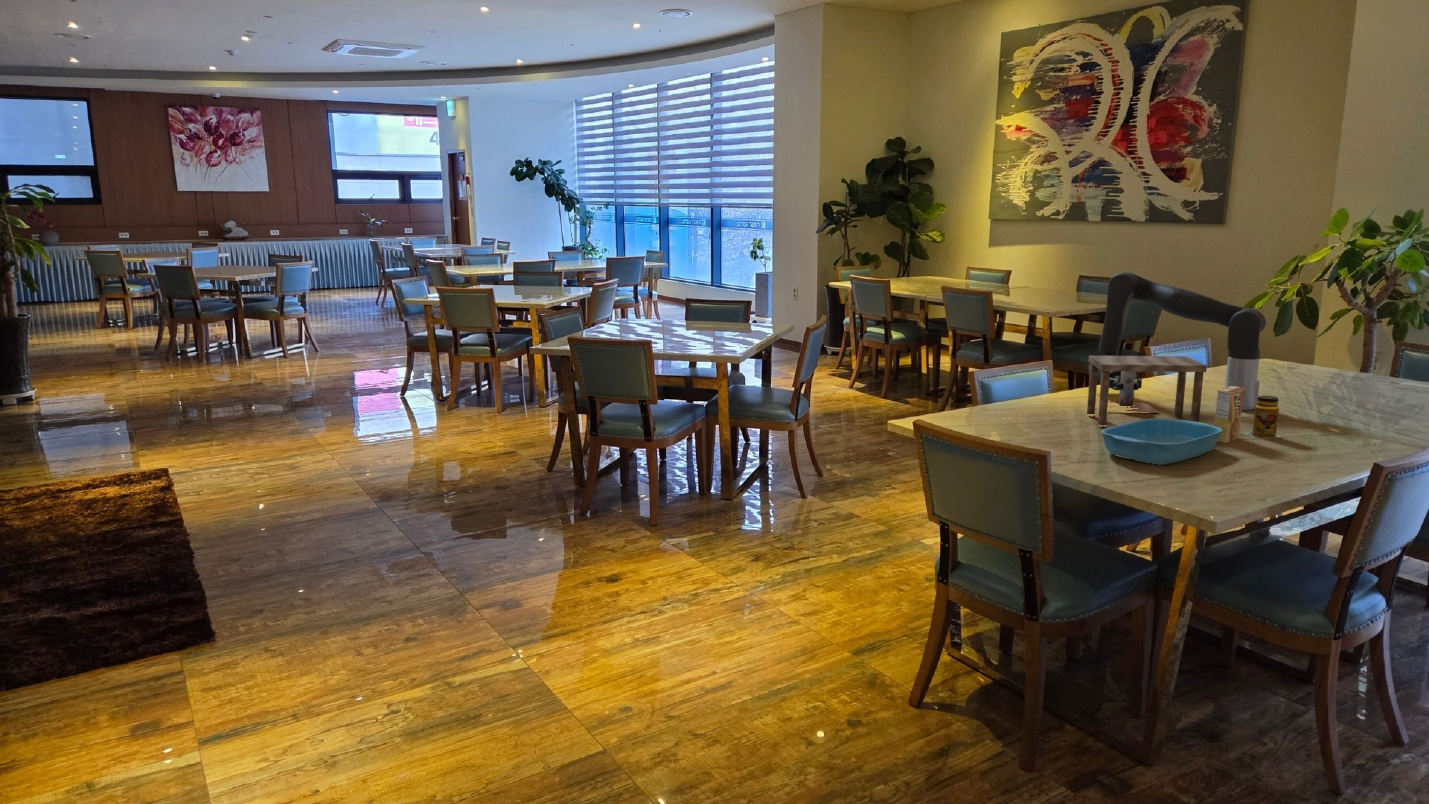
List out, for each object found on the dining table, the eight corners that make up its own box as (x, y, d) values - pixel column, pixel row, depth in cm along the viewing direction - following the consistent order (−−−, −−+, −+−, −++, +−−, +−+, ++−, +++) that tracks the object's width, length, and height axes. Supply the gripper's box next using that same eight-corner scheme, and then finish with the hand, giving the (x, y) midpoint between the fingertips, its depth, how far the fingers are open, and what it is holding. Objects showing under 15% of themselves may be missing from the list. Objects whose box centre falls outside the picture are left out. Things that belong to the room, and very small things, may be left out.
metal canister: (1131, 403, 311) (1133, 368, 309) (1134, 406, 307) (1137, 371, 304) (1117, 403, 312) (1119, 368, 309) (1120, 406, 308) (1123, 371, 305)
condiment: (1264, 440, 268) (1268, 400, 266) (1240, 433, 276) (1244, 394, 274) (1283, 437, 270) (1288, 398, 268) (1259, 431, 278) (1263, 392, 276)
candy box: (1224, 435, 274) (1229, 385, 270) (1240, 438, 270) (1245, 387, 267) (1212, 440, 268) (1216, 389, 265) (1227, 443, 265) (1232, 391, 262)
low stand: (1181, 416, 299) (1186, 356, 295) (1200, 429, 281) (1206, 365, 277) (1084, 415, 304) (1088, 355, 299) (1098, 427, 286) (1102, 364, 282)
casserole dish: (1156, 435, 276) (1158, 412, 275) (1233, 450, 258) (1235, 425, 257) (1085, 456, 255) (1087, 431, 254) (1163, 474, 237) (1165, 447, 236)
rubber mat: (1144, 403, 319) (1144, 402, 319) (1158, 413, 304) (1158, 412, 303) (1089, 403, 322) (1090, 401, 322) (1101, 412, 306) (1101, 411, 306)
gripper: (1094, 367, 323) (1107, 375, 307) (1137, 367, 321) (1152, 376, 304) (1093, 387, 325) (1105, 397, 308) (1136, 388, 322) (1150, 398, 306)
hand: (1128, 387), depth 306 cm, fingers closed on metal canister, 4 cm apart
